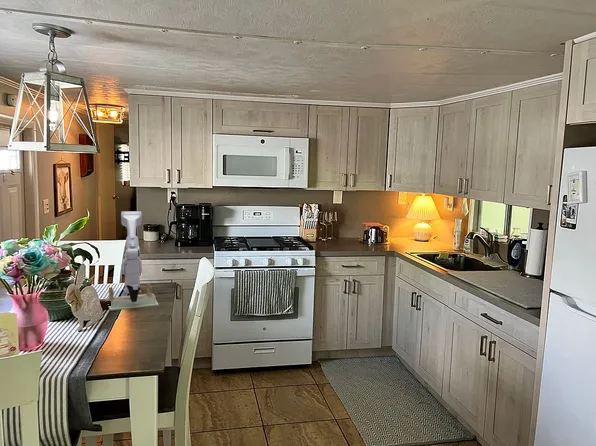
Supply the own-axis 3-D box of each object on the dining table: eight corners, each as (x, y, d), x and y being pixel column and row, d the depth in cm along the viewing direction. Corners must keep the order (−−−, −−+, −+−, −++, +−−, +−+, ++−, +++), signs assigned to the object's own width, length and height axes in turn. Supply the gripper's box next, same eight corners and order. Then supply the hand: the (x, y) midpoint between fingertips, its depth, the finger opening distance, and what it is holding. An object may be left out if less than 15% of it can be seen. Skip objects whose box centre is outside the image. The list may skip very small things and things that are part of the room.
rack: (105, 300, 236) (104, 287, 235) (153, 295, 246) (153, 283, 245) (106, 304, 230) (106, 291, 229) (155, 299, 240) (155, 286, 239)
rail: (111, 307, 223) (111, 301, 223) (111, 305, 226) (110, 299, 225) (155, 302, 232) (155, 297, 232) (154, 301, 235) (154, 295, 234)
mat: (108, 305, 228) (108, 304, 228) (155, 300, 237) (155, 299, 237) (109, 310, 221) (109, 309, 220) (158, 305, 230) (158, 304, 230)
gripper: (122, 270, 232) (122, 297, 233) (126, 277, 219) (126, 305, 220) (137, 269, 235) (137, 296, 236) (142, 275, 222) (142, 304, 224)
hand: (133, 300), depth 229 cm, fingers closed on rail, 3 cm apart
